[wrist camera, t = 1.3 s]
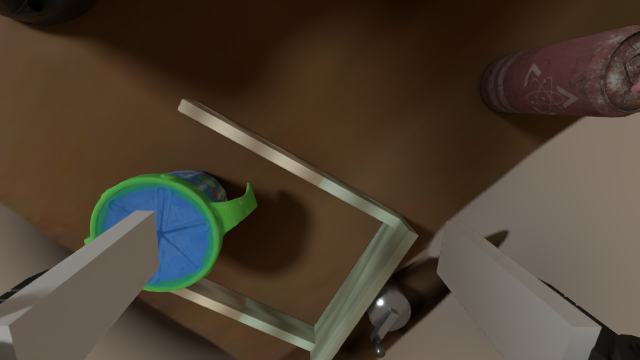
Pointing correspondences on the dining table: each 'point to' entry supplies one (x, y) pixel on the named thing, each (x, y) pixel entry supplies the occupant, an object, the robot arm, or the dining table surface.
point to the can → (569, 77)
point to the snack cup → (176, 221)
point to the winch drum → (388, 313)
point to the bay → (356, 287)
